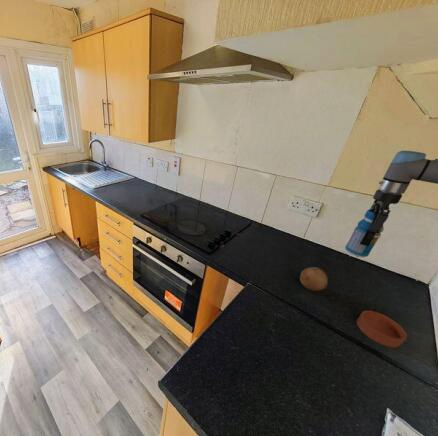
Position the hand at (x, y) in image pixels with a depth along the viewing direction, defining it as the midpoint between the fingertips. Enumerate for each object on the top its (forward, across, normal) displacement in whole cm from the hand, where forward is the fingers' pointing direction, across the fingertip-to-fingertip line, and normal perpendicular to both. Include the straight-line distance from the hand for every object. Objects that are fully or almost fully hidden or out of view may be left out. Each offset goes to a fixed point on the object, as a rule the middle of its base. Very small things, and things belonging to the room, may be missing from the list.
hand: (362, 240), depth 99 cm
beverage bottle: (+7, 0, 0) cm, 7 cm away
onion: (+20, +21, -13) cm, 32 cm away
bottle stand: (+20, +32, +8) cm, 38 cm away
